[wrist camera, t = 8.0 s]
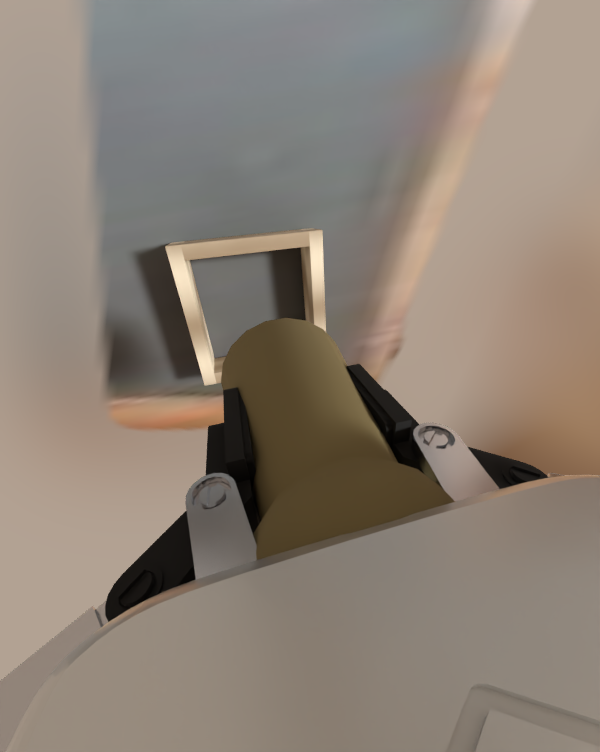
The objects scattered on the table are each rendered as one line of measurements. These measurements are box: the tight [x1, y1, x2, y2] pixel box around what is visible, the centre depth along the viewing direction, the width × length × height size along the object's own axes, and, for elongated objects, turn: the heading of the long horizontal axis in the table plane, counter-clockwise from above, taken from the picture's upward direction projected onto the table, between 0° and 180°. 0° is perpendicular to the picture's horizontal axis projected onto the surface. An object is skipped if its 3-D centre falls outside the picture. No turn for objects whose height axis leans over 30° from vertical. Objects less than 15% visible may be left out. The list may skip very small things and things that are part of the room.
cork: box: [221, 318, 455, 560], centre depth 10 cm, size 6×6×11 cm
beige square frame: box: [165, 228, 326, 385], centre depth 24 cm, size 11×11×3 cm
